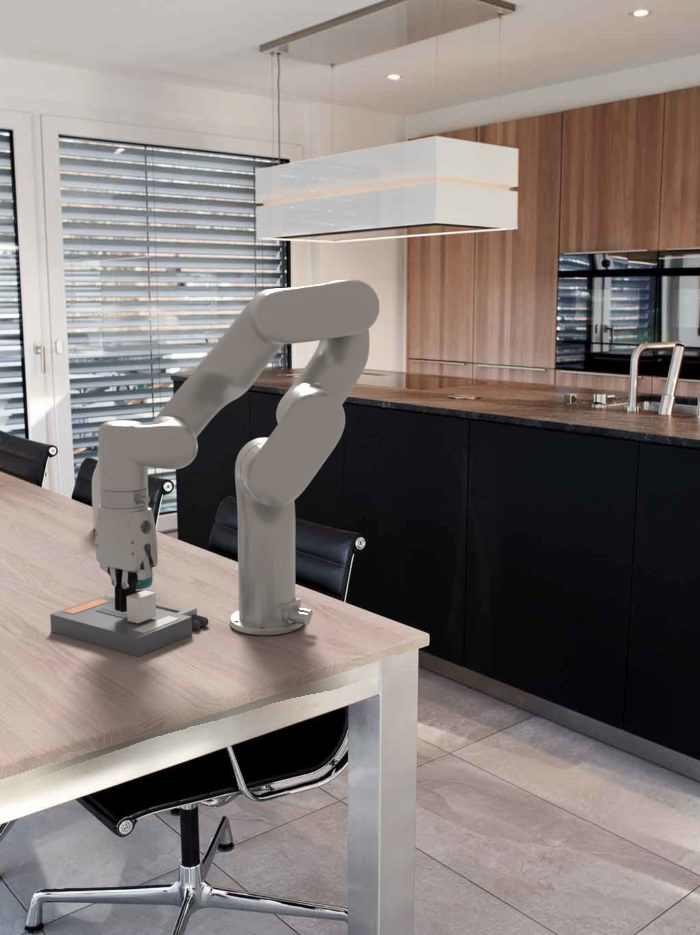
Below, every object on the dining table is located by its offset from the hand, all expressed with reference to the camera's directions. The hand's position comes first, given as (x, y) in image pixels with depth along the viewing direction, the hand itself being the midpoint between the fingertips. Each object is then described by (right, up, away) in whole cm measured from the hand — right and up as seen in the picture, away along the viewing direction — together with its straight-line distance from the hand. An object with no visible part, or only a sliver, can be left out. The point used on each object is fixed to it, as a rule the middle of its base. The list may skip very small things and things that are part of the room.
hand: (125, 609), depth 154 cm
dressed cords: (+4, -3, +9) cm, 10 cm away
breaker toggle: (+3, -1, -1) cm, 4 cm away
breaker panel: (-1, -4, +2) cm, 5 cm away
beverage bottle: (-4, -1, +23) cm, 24 cm away
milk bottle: (-21, +8, +73) cm, 76 cm away
